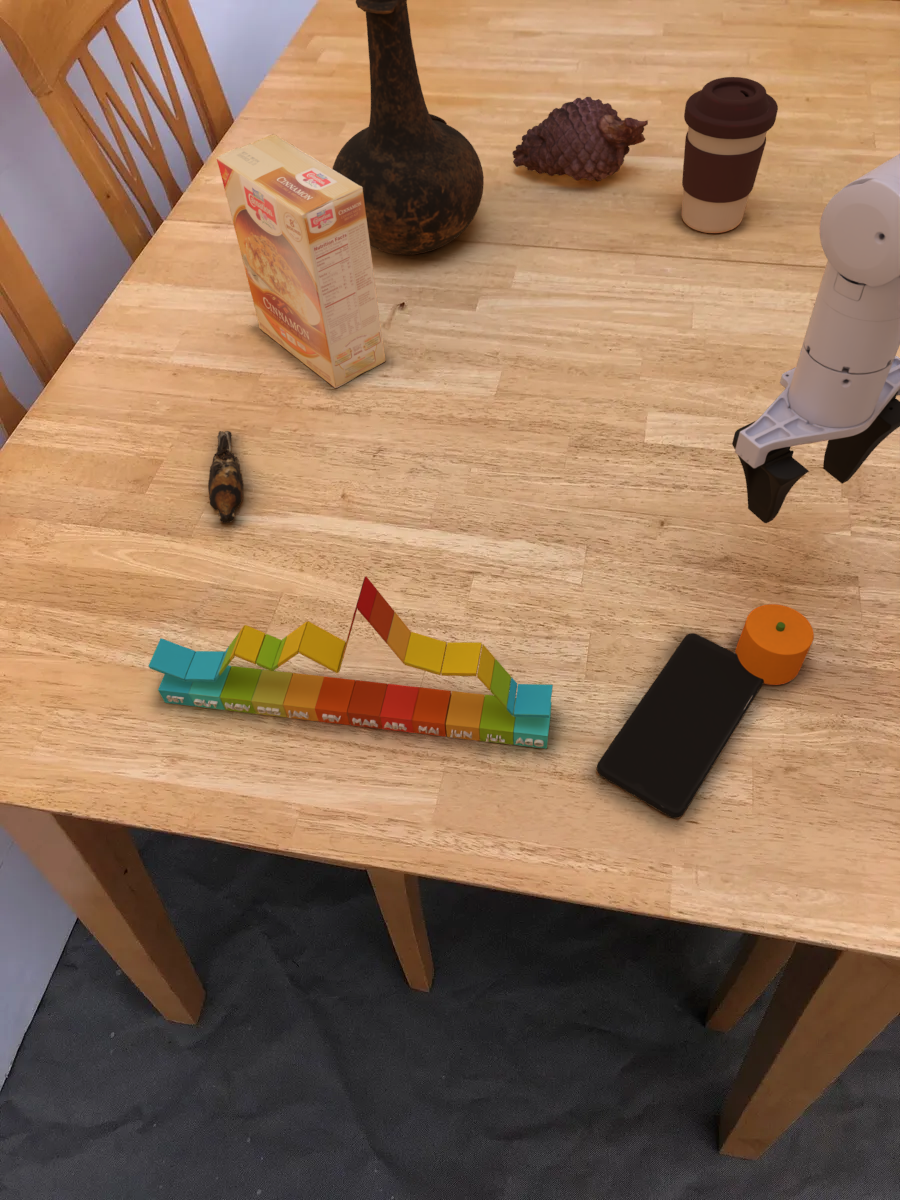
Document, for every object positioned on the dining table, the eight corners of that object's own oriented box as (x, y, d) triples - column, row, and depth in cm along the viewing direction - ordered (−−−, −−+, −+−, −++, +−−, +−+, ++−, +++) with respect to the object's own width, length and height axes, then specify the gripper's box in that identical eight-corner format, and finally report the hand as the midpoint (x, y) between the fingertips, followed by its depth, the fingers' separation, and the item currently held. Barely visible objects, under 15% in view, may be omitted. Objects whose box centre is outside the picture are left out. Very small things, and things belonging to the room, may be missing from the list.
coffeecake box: (257, 328, 104) (212, 156, 88) (309, 302, 106) (275, 130, 91) (334, 391, 96) (300, 214, 81) (388, 361, 99) (365, 184, 83)
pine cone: (508, 196, 118) (497, 110, 115) (529, 198, 127) (519, 118, 124) (648, 167, 111) (639, 75, 108) (659, 171, 120) (652, 86, 117)
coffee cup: (663, 236, 111) (681, 106, 99) (676, 194, 116) (694, 66, 105) (748, 245, 108) (777, 114, 97) (757, 202, 114) (785, 73, 102)
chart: (163, 705, 73) (96, 586, 61) (177, 672, 75) (115, 550, 63) (546, 752, 69) (553, 633, 57) (550, 715, 71) (558, 593, 59)
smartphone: (771, 669, 71) (679, 819, 64) (768, 675, 72) (677, 824, 65) (689, 628, 74) (593, 767, 67) (687, 634, 74) (592, 773, 67)
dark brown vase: (506, 211, 116) (504, -49, 94) (446, 288, 106) (429, 18, 84) (381, 187, 121) (352, -64, 99) (313, 259, 112) (264, -2, 90)
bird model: (208, 536, 84) (200, 516, 82) (216, 438, 93) (209, 417, 91) (243, 532, 84) (236, 512, 82) (247, 434, 93) (241, 414, 91)
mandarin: (813, 665, 72) (829, 630, 69) (769, 695, 70) (784, 661, 67) (764, 625, 75) (778, 590, 72) (721, 653, 73) (733, 618, 70)
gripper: (884, 280, 64) (831, 429, 75) (721, 354, 60) (689, 499, 71) (966, 331, 60) (898, 480, 71) (798, 413, 56) (752, 558, 67)
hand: (798, 494), depth 71 cm, fingers open, 7 cm apart
